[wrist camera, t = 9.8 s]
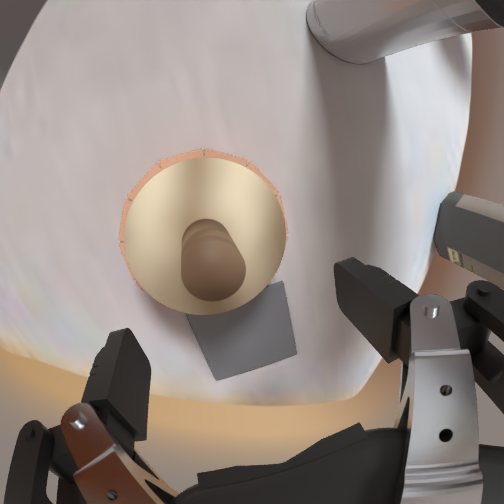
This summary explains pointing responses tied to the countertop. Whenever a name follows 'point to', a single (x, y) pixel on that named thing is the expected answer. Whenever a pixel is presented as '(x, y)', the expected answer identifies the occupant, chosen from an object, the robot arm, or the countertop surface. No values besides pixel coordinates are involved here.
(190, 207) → the lid
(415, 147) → the countertop surface
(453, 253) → the liquor
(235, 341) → the mat
